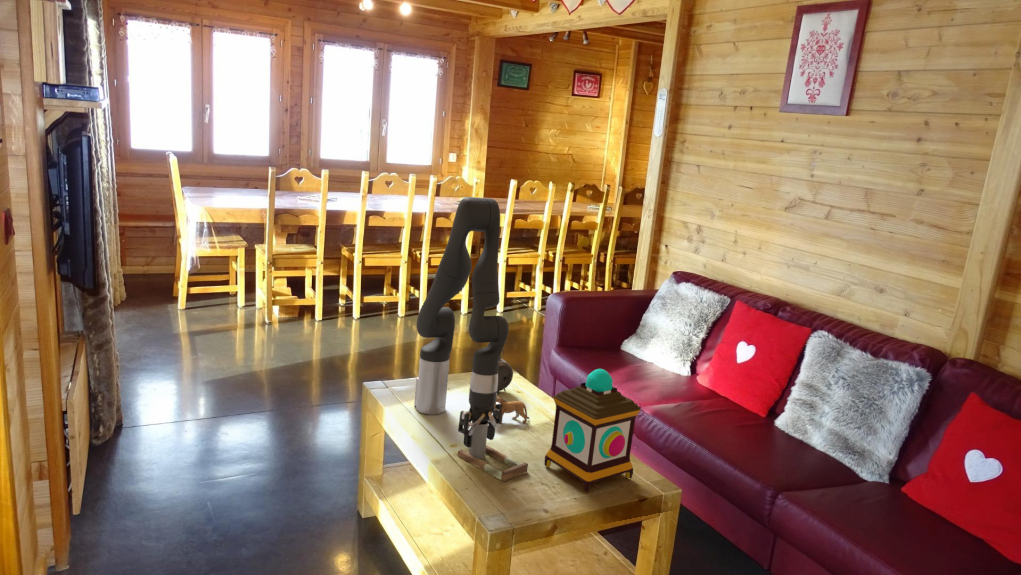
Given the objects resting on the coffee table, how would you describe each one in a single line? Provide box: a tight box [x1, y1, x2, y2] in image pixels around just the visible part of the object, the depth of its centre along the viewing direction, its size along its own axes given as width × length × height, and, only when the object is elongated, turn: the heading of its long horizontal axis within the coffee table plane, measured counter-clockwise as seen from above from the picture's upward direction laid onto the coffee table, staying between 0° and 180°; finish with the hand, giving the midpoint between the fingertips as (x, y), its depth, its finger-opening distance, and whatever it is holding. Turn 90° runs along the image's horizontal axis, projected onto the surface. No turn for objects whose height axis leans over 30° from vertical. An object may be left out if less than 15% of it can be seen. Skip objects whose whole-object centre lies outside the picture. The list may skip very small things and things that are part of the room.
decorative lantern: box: [543, 368, 642, 494], centre depth 197 cm, size 20×20×30 cm
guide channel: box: [457, 444, 529, 482], centre depth 200 cm, size 18×9×2 cm, turn 46°
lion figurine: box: [496, 395, 530, 425], centre depth 228 cm, size 15×5×9 cm, turn 113°
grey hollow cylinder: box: [468, 421, 488, 460], centre depth 203 cm, size 4×4×10 cm
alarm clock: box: [497, 348, 514, 396], centre depth 250 cm, size 11×5×16 cm, turn 119°
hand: (478, 442), depth 203 cm, fingers open, 8 cm apart
